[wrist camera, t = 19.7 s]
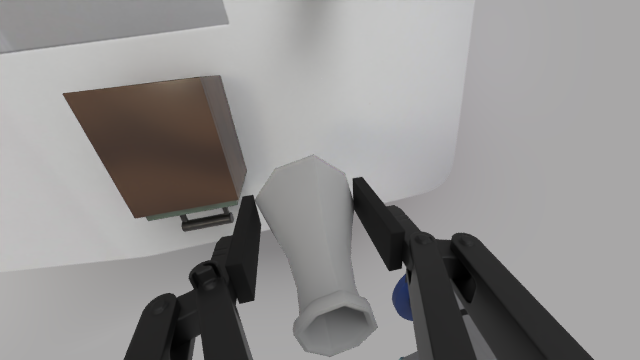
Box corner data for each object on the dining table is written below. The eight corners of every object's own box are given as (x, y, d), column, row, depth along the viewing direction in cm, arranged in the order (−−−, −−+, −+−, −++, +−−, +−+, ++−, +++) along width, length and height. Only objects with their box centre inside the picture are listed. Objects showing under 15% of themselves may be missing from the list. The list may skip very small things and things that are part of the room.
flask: (299, 251, 20) (318, 399, 11) (236, 197, 16) (191, 345, 8) (367, 202, 19) (450, 321, 10) (315, 135, 16) (369, 221, 7)
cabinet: (247, 171, 38) (238, 199, 29) (167, 184, 37) (134, 218, 28) (220, 75, 31) (199, 76, 23) (122, 87, 30) (62, 93, 22)
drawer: (251, 202, 40) (245, 230, 33) (182, 215, 38) (162, 246, 31) (219, 94, 32) (203, 100, 25) (131, 105, 30) (89, 115, 23)
